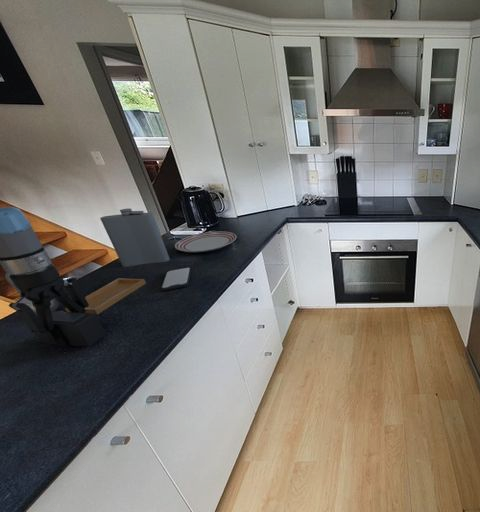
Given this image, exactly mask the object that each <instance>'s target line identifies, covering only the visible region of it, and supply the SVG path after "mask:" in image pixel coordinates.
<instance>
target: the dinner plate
mask: <svg viewBox="0 0 480 512" xmlns="http://www.w3.org/2000/svg"><path fill="white" fill-rule="evenodd" d="M237 237H238V236H237V234H235V232H231V231H207V232H201V233H195V234H193V235H189V236H186V237H184V238H182V239H179V241H177V242H175V244H174V248H175V249H176V250H178V251H180V252H184V253H197V254H198V253H207V252H213V251H216V250H220V249H222V248H224V247H226V246H228V245H231V244H232V243H233V242H234V241H236V240H237Z"/></svg>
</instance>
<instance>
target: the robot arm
mask: <svg viewBox="0 0 480 512" xmlns="http://www.w3.org/2000/svg"><path fill="white" fill-rule="evenodd" d="M52 263H53V261H52V260H51V258H50V255H48V253H47V251H46V249H45V247H44V246H43V244H42V242H41V241H40V239H39V237H38V235H37V234H36V232H35V230H34V228H33V226H32V225H31V222H30V220H29V219H28V218H27V217H26V215H25V214H24V212H22V210H21V209H19V208H17V207H12V206H6V207H4V206H3V207H2V206H1V207H0V266H1V268H2V269H3V270H4V272H5V274H6V273H7V274H10V276H9V277H10V279H11V280H12V282H13V283H14V285H15V286H16V287H17V288H18V289H19V290H20V292H21V295H20V298H19V299H18V300H16V302H10V303H9V304H8V307H9V308H11V309H12V310H14V311H16V312H17V314H18V316H19V317H20V318H21V320H22V321H23V322H24V324H25V325H26V327H27V329H29V331H30V333H32V334H35V333H41V334H42V333H45V334H46V335H47V337H48V338H49V339H50V340H55V342H56V343H57V344H58V345H57V346H58V347H64V348H68V347H70V346H71V345H70V343H69V341H68V340H67V338H66V337H65V335H64V334H63V332H62V331H61V329H60V328H59V327H54V322H53V318H52V314H51V310H50V306H51V302H50V301H51V300H53V299H54V298H55V299H56V300H57V302H58V303H60V304H61V305H62V306H64V307H65V308H67V309H69V310H70V311H71V312H81V313H85V312H86V309H84V308H85V307H88V306H89V304H88V302H87V300H86V299H85V297H86V296H85V295H84V294H83V292H82V290H81V289H80V287H79V285H78V280H77V279H78V278H76V277H69V276H65V277H64V278H62V277H61V274H60V272H59V271H58V269H57V267H56V266H55V265H54V264H52ZM63 288H65V289H66V291H67V292H66V291H65V290H64V289H63ZM28 300H29V301H32V304H33V306H34V307H35V309H36V313H37V316H36V314H35V313H34V311H33V310H32V309H31V308H30V307H29V306H30V304H29V303H28Z"/></svg>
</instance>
